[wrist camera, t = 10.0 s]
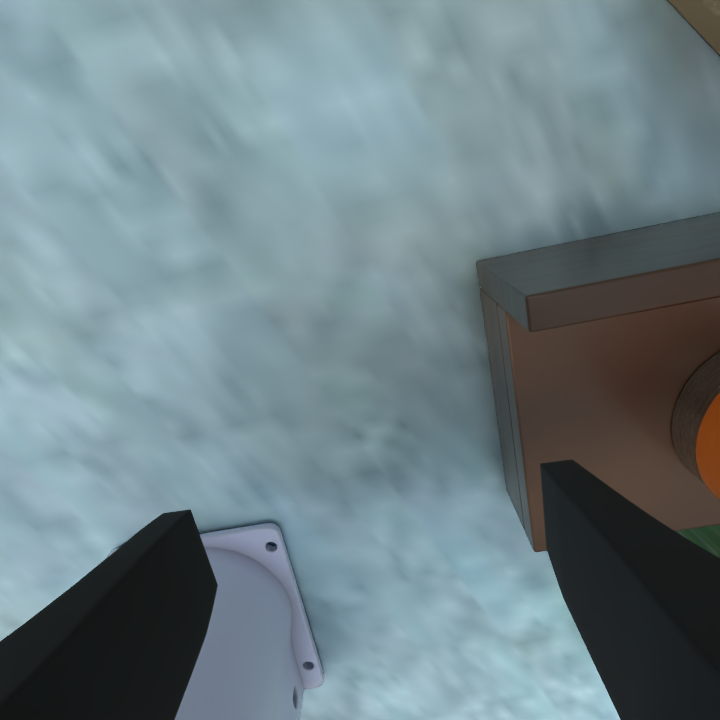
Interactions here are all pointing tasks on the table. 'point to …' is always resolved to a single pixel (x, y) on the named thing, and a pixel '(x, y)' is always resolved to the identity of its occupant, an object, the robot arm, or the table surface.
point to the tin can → (700, 425)
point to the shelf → (603, 362)
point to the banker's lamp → (702, 18)
